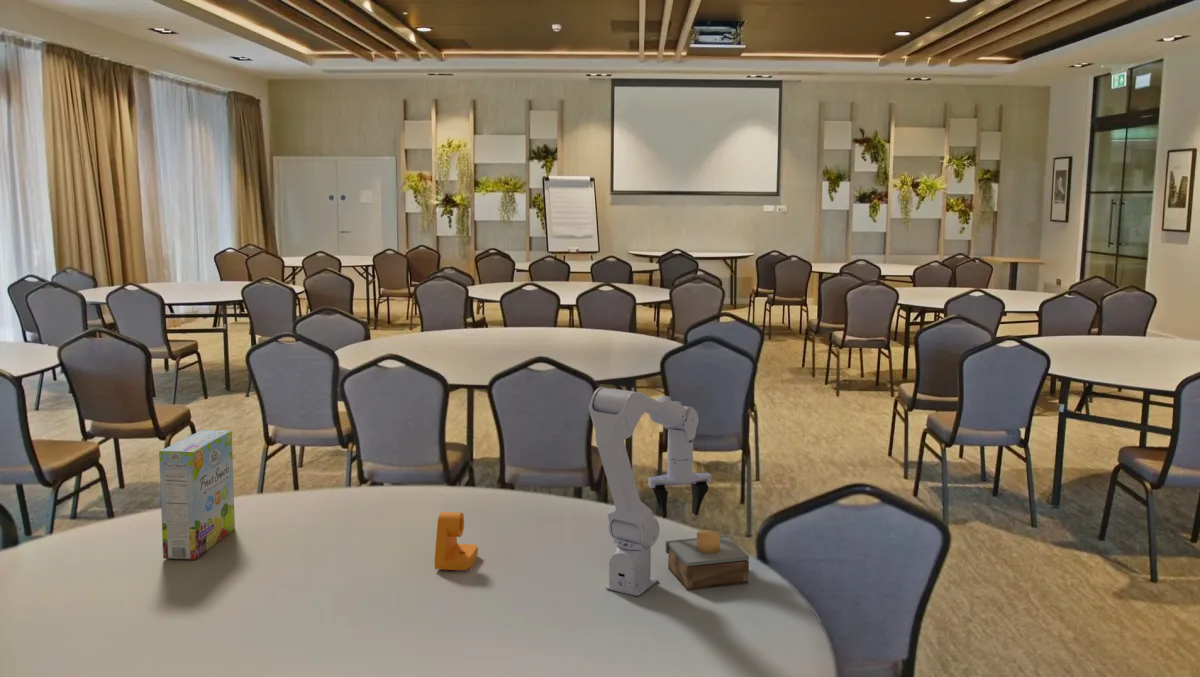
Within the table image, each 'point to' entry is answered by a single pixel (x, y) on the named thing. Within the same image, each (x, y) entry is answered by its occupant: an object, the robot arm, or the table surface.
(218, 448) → the snack box
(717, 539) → the orange rounded block
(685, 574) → the box
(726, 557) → the lid
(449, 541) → the bracket
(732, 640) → the table surface
